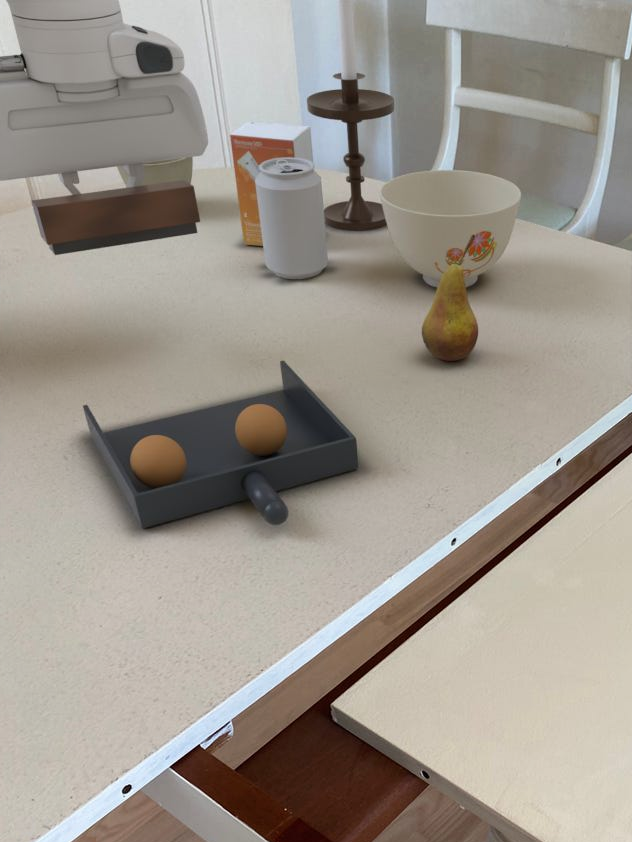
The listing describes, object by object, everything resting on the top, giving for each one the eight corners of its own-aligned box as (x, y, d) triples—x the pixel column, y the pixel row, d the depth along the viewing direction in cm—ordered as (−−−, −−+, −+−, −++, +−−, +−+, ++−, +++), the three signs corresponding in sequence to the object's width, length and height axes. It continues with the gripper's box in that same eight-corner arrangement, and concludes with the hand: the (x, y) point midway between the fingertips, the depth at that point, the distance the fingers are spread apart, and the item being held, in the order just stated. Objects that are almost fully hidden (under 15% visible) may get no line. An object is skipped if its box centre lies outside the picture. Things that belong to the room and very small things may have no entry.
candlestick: (372, 200, 137) (357, -114, 113) (412, 223, 130) (405, -104, 107) (303, 213, 132) (272, -111, 109) (341, 238, 125) (316, -101, 102)
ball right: (223, 418, 85) (239, 466, 85) (234, 401, 81) (251, 451, 81) (270, 410, 87) (285, 456, 87) (283, 392, 83) (299, 441, 84)
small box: (243, 246, 123) (227, 133, 114) (261, 228, 127) (247, 119, 119) (304, 252, 122) (293, 139, 113) (320, 234, 126) (311, 124, 118)
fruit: (426, 343, 103) (424, 227, 95) (480, 347, 103) (483, 230, 95) (418, 367, 99) (415, 247, 91) (474, 371, 99) (476, 251, 91)
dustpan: (91, 437, 87) (82, 405, 85) (287, 390, 95) (283, 360, 93) (165, 571, 73) (157, 537, 71) (389, 504, 81) (387, 471, 78)
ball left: (148, 506, 81) (195, 484, 83) (148, 483, 77) (197, 460, 79) (121, 464, 82) (168, 442, 83) (118, 438, 78) (168, 416, 79)
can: (284, 286, 114) (271, 178, 106) (255, 266, 118) (241, 160, 110) (340, 273, 117) (332, 166, 109) (310, 253, 121) (300, 150, 113)
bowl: (380, 306, 110) (376, 214, 103) (385, 253, 122) (382, 168, 115) (521, 307, 111) (525, 216, 104) (512, 255, 123) (516, 170, 116)
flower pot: (206, 197, 136) (197, 142, 131) (195, 222, 129) (185, 164, 124) (133, 197, 136) (122, 141, 131) (118, 222, 128) (105, 164, 123)
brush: (50, 256, 88) (37, 207, 85) (34, 237, 93) (21, 189, 91) (202, 233, 93) (193, 185, 90) (178, 215, 99) (169, 170, 96)
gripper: (-49, 68, 78) (3, 243, 87) (200, 48, 86) (223, 210, 95) (-60, 52, 82) (-10, 221, 91) (178, 34, 90) (202, 191, 99)
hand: (111, 215), depth 93 cm, fingers closed on brush, 2 cm apart
